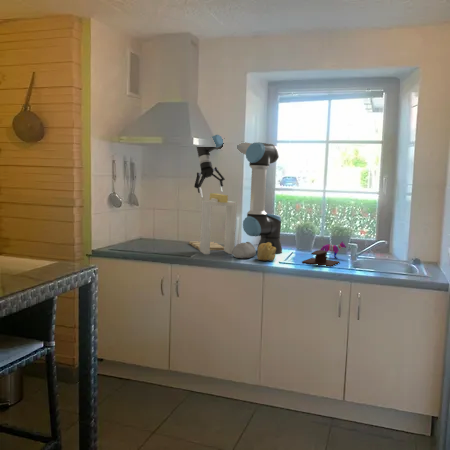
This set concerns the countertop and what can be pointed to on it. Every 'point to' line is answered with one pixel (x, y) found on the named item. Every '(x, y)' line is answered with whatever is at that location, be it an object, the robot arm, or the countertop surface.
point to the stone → (266, 252)
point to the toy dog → (333, 248)
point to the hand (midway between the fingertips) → (211, 194)
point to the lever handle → (320, 259)
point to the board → (212, 245)
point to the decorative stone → (244, 250)
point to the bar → (219, 197)
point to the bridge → (229, 225)
